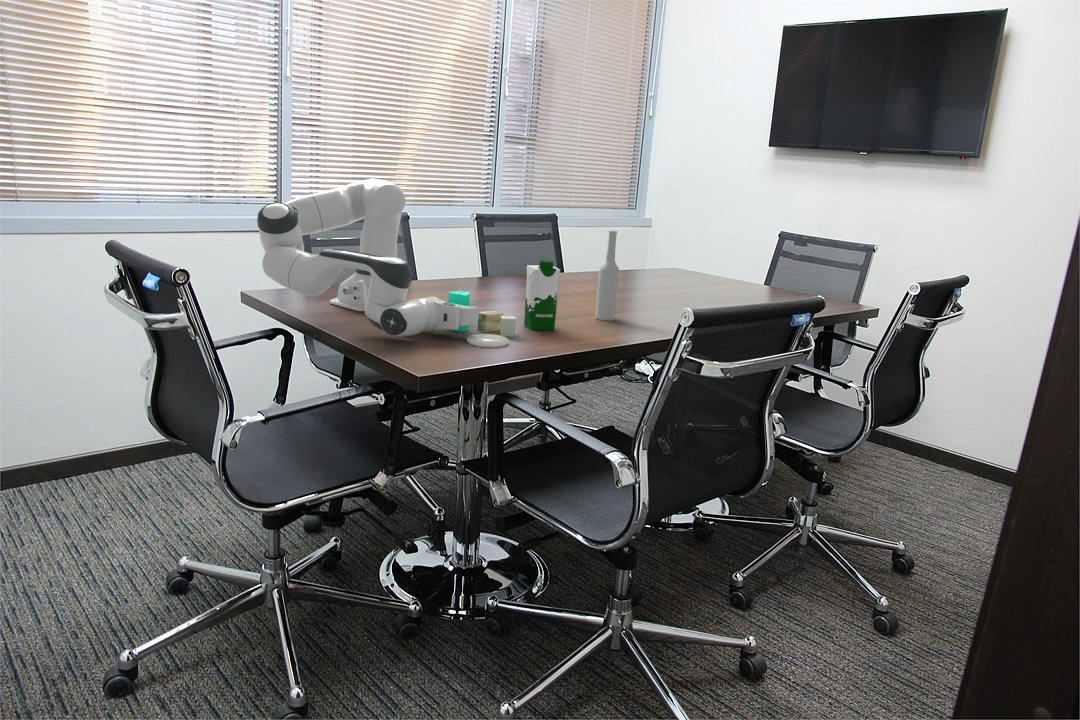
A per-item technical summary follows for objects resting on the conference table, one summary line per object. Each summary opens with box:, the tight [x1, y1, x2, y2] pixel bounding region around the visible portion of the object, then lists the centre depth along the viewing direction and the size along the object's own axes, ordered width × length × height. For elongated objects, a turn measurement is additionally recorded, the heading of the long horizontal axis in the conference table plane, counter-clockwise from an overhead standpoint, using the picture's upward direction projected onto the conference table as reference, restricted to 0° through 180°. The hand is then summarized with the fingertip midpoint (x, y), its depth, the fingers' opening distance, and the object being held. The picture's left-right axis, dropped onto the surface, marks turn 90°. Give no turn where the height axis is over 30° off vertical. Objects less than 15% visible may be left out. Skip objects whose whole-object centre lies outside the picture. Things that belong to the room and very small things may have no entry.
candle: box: [447, 286, 471, 332], centre depth 215 cm, size 6×6×12 cm
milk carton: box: [523, 259, 561, 331], centre depth 223 cm, size 9×9×20 cm
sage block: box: [499, 315, 517, 338], centre depth 213 cm, size 4×4×5 cm
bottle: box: [594, 230, 621, 322], centre depth 242 cm, size 7×7×28 cm
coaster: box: [466, 333, 509, 349], centre depth 203 cm, size 11×11×1 cm
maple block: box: [476, 310, 504, 333], centre depth 218 cm, size 4×6×5 cm, turn 132°
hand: (459, 306), depth 215 cm, fingers open, 8 cm apart
